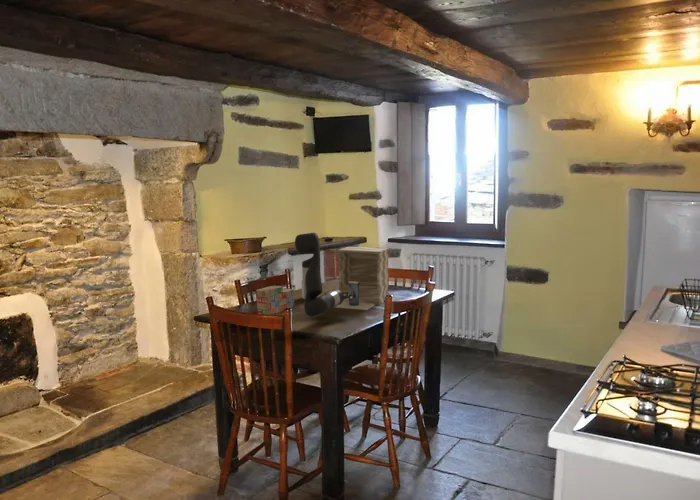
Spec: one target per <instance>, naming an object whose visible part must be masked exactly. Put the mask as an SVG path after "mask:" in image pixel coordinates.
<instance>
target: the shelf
mask: <svg viewBox="0 0 700 500" xmlns="http://www.w3.org/2000/svg"><path fill="white" fill-rule="evenodd" d="M389 251H390V248H388V247H363V246H347V247H346V246H345V247H343V248H340V249H338V250H337V253H338V279H339V280H338V281H339V282H338V285H339V286H338V287H339V289H338V290H339V291H341V292H349V281H350V280H358V281H359V303H372V304H375V305H377V306H380V305H382V304H383V303H384V299H385V296H386V295H388V296H389ZM345 294H346V293H345ZM343 301H346V302H349V299H346V300H343ZM381 303H382V304H381ZM375 305H374V306H375Z"/></svg>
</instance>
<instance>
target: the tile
mask: <svg viewBox="0 0 700 500" xmlns="http://www.w3.org/2000/svg"><path fill="white" fill-rule="evenodd" d="M374 306H375V304H372V303H359V305H357V306H351V305H349V302H346V301H343V302H342V303H341V304H340V305H338V306H336V307H335V308H337V309H339V308H340V309H351V310H363V311H368V310H369V309H371V308H372V307H374Z"/></svg>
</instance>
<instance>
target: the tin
mask: <svg viewBox="0 0 700 500" xmlns="http://www.w3.org/2000/svg"><path fill="white" fill-rule="evenodd" d="M352 291H355V293H356V298H355V299H353V300H349V305H351V306H357V305H359V281H358V280H350V281H349V292H352Z"/></svg>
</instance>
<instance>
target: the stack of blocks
mask: <svg viewBox="0 0 700 500" xmlns="http://www.w3.org/2000/svg"><path fill="white" fill-rule="evenodd" d="M294 290H295V289H294V288H293V289H292V288H286V287H285V288H283V286H280V285H270V286H266V287H263V288H259V289H256V314H257V313H258V314H273V315H275V314H274V313H276V314H279V313H281V312H283V311H282V310H284V309H285V308H290V309H293V308H295V291H294ZM280 311H281V312H280ZM284 311H285V310H284ZM278 312H279V313H278Z"/></svg>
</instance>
